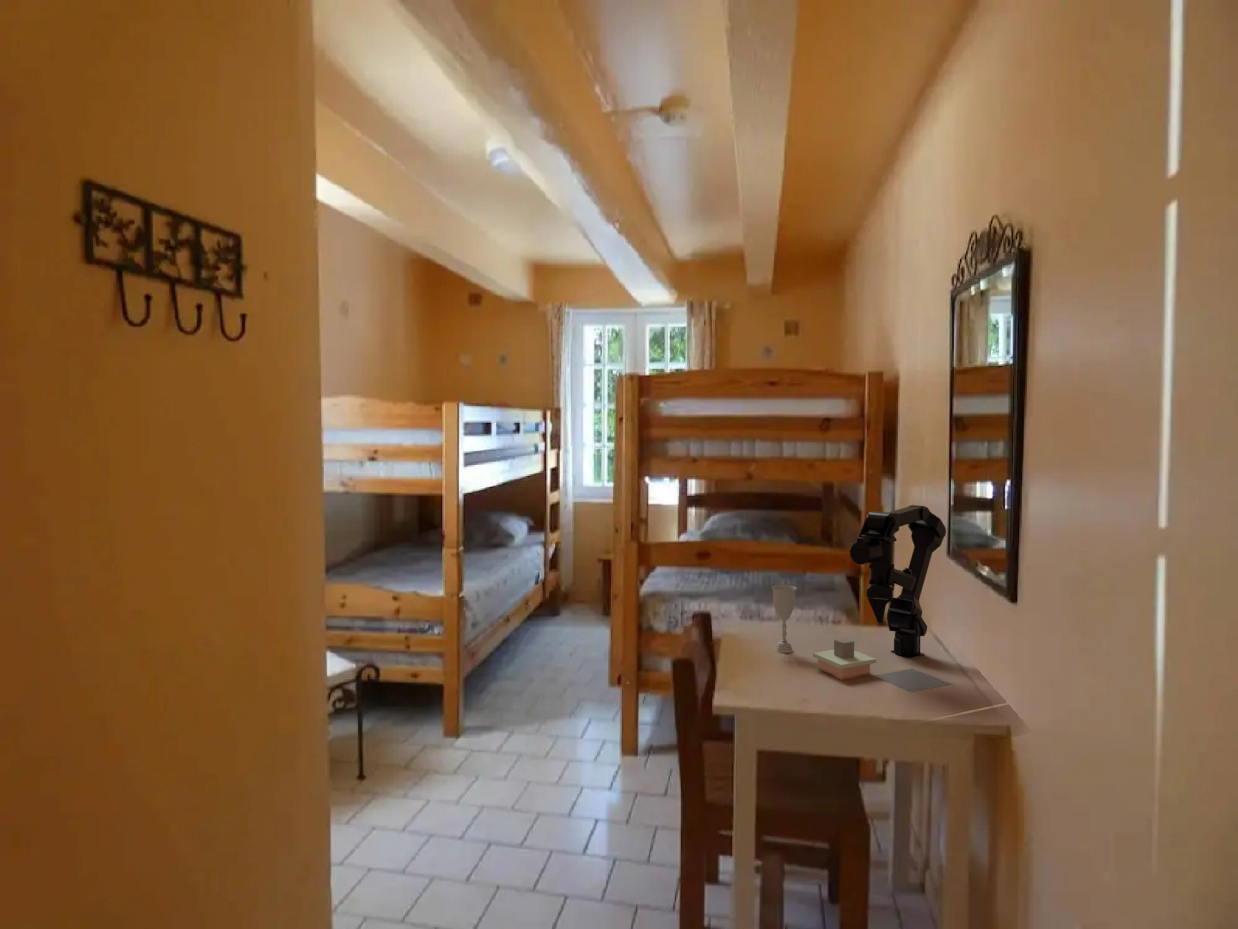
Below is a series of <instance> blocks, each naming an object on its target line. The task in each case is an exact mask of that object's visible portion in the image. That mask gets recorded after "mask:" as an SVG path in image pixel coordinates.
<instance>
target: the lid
mask: <svg viewBox="0 0 1238 929" xmlns="http://www.w3.org/2000/svg"><path fill="white" fill-rule="evenodd" d="M833 644H834V645H833V649H829V650H822V651H817V652H812V657H813V658H815V659H819V660H822V661H824V662H826V663H829V664H831V665H833V666H835V667H838V668H840V669H844V668H850V667H855V666H861V665H867V664H870V665H873V664H876V663H877V659H876V658H874V657H872V656H869V655H867V654H865V653H863V652H862V653H861V652H859V651H858V650H857V651H856V650H855V640H852V639H849V638H846V637H844V638H843V637H842V638H836V639H835V638H834V640H833Z"/></svg>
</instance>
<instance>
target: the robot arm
mask: <svg viewBox="0 0 1238 929" xmlns="http://www.w3.org/2000/svg"><path fill="white" fill-rule="evenodd" d="M906 525H907V527H908V528H909V530H910V532H911V536H910V538H911V541H912V544H913V551H912V553H911V554H912V555H911V558H910V560H909V564H908V567H904V568H903V569H902V570H901V569H897V568H895V563H894V559H893V558H894V542H897V537H895V536H894V535H895V534H896V533H897V532H899V531H900V527H903V526H906ZM946 534H947V528H946V526H945V524H944V522H943V521H942V520H941V518H940V517H939V516H937V515H936V514H934V513H932V511H930V509H929V507H928V506H925V505H915V504H910V505H908V506H906V507H903V508H898V509H895V510H892V511H874V510H873V511H870V512H868V514H867V516H866V517H865V519H864V521H863V525H862V527H861V529H860V532H859V534H858V537H857V538H856V542H855V543H853V544H852V546H851V547H850V549H849V556H850V558H851V560H852V561H853V562H854V563H855V564H857V565H860V566H861V565H866V564H869V565H868V567H869V568H868V569H869V579H868V583H869V585H868V586H867V587H866V599H867V600H868V602H869V605H870V607H871V610H872V611H873V614H874V616H875V619H876V621H877V624H882V623H883V622H884V617H885V612H886V611H885V610H886V607H887V605H888V604H889V603H890V604H889V607H888V609H887V613H886V620H887V625H888V630H889V632H894V639H893V650H890V653H893V654H895V655H897V656H900V657H903V658H906V659H911V658H917V657H921V656H925V655H926V654H925V653H923V652H921V637H925V636H926V634H927V631H928V625H927V624H926V622H925V620H924V618H923V617H922V616H923V610H922V606H921V603H920V598H921V594H922V590H923V588H924V583H925V580H926V576H927V574H928V570H929V565H930V563H931V558H932V556H933V553H934V552H935V551H936V550H937V549H938V548H939V547H941V545H942V543H943V541H944V538H945V537H946ZM896 585H897V586H899V587H902V589H901V593H900V594H899V595H898V596H897V597H893V596H894V590H895V587H896Z"/></svg>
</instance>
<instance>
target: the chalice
mask: <svg viewBox="0 0 1238 929" xmlns="http://www.w3.org/2000/svg"><path fill="white" fill-rule="evenodd" d="M771 589H772V595H773V598H772V599H773V603H772V604H773V608H774V610H775V613H776V615H777V616H778V618H779V620H781V621H782V624H781V626H780V627H781V629H782V631H781V633H780V634H781V635H782V639H781V640H780V641H778V643H777V645H776V648H775V649H774V651H775V650H776V651H775V652H777V653H780V654H781V653H783V654H789V653H793V652H794V649H793V646H792V644H791V643H790V641H787V635H788V633H787V628H788V627H787V621H788V620H789V619H791V618H790V617H791V616H792V614H793V612H794V609H795V607H796V606H795V605H796V591H797V587H796V586H794V585H789V584H775V585H772V586H771Z"/></svg>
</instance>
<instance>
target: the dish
mask: <svg viewBox="0 0 1238 929" xmlns="http://www.w3.org/2000/svg"><path fill="white" fill-rule="evenodd" d="M817 666H818V667H817V668H818V670H819V671H821V672H824V673H826V674H828V675H830V676H832V677H834V678H837V679H839V680H841V681H842V680H847V679H853V678H858V677H864V676H869V675H871V664H867V665H861V666H855V667H850V668H844V669H840V668H838V667H835V666H833V665H831V664H829V663H826V662H824V661H822V660H819V659H818V665H817Z"/></svg>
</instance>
